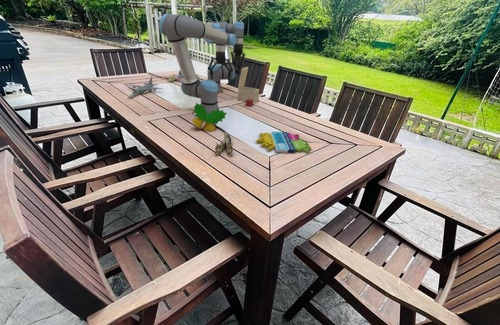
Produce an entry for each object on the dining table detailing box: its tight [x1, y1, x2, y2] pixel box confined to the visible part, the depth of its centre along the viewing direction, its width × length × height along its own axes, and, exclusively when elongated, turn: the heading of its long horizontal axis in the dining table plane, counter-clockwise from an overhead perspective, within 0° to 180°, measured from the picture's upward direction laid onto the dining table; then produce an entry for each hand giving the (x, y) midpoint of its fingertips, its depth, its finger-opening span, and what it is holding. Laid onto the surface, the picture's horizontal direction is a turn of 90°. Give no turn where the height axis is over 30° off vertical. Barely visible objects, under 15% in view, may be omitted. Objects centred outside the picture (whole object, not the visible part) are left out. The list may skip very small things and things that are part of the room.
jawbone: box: [214, 131, 234, 156], centre depth 136 cm, size 9×15×10 cm
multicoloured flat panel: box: [256, 131, 312, 154], centre depth 152 cm, size 26×2×30 cm
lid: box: [234, 66, 249, 89], centre depth 220 cm, size 16×10×8 cm
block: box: [245, 99, 254, 108], centre depth 212 cm, size 5×5×5 cm
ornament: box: [191, 102, 228, 132], centre depth 162 cm, size 21×8×15 cm, turn 105°
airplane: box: [127, 75, 164, 99], centre depth 224 cm, size 38×31×10 cm
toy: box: [161, 70, 183, 82], centre depth 276 cm, size 28×7×30 cm
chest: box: [237, 86, 260, 104], centre depth 223 cm, size 15×10×10 cm, turn 64°
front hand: (220, 79), depth 210 cm, fingers open, 13 cm apart
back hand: (237, 74), depth 220 cm, fingers closed on lid, 2 cm apart
